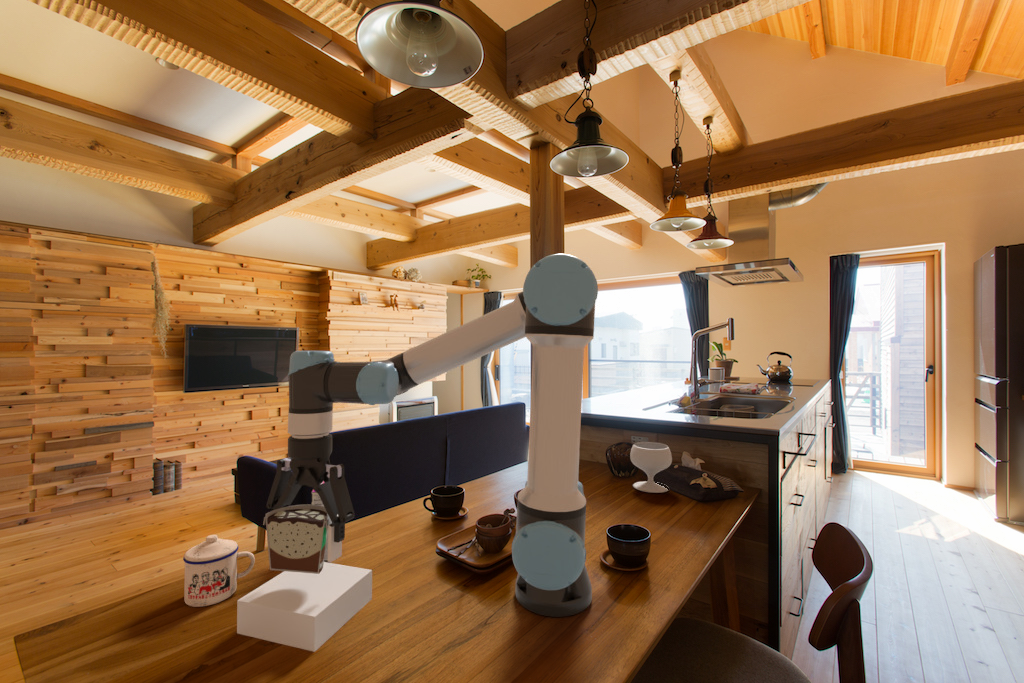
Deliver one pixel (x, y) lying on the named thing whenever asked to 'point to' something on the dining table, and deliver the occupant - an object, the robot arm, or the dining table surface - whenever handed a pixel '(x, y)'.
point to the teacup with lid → (212, 571)
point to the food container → (297, 538)
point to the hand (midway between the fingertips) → (308, 552)
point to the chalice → (650, 463)
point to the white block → (304, 605)
